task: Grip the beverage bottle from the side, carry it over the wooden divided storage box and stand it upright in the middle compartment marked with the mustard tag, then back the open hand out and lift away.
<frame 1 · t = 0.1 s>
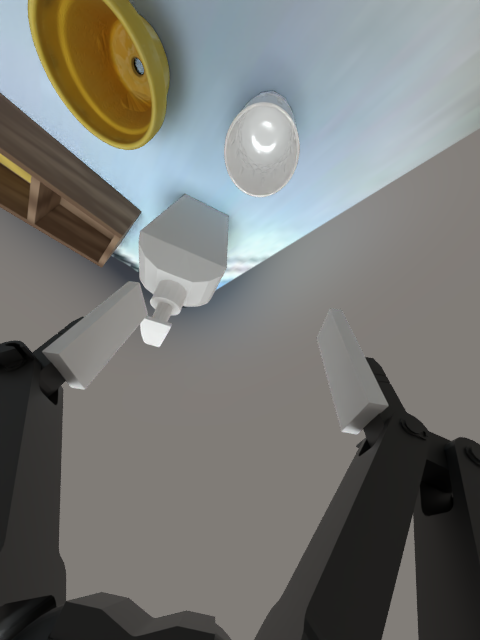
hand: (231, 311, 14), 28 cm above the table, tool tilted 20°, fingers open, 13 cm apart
wooden divided storage box: (23, 149, 32), on the table
soap bottle: (202, 223, 39), on the table
white cup: (267, 128, 26), on the table
plant pot: (142, 65, 23), on the table
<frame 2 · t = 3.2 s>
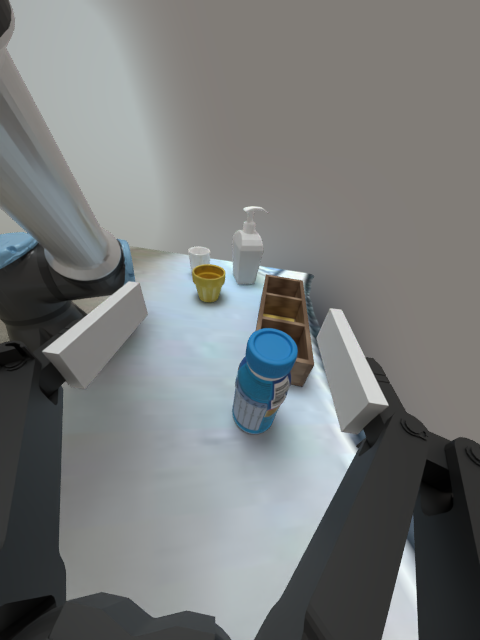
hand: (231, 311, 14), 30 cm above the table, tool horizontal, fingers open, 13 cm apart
wooden divided storage box: (277, 329, 58), on the table
soap bottle: (245, 279, 80), on the table
white cup: (200, 275, 79), on the table
plant pot: (209, 297, 68), on the table
beverage bottle: (252, 413, 39), on the table
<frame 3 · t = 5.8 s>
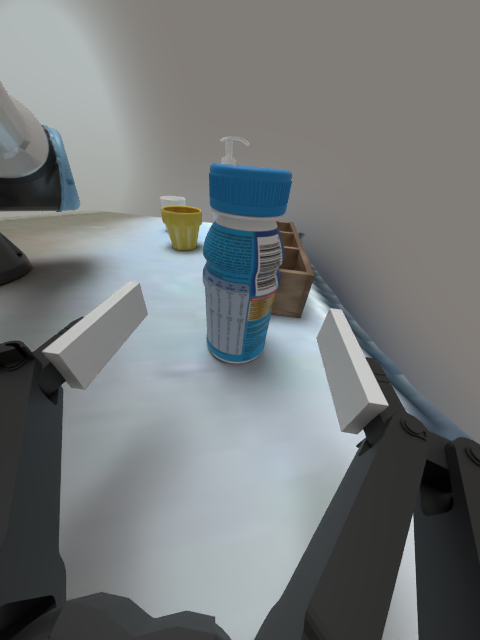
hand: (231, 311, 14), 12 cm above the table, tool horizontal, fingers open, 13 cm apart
wooden divided storage box: (266, 271, 48), on the table
soap bottle: (228, 235, 70), on the table
white cup: (176, 231, 69), on the table
plant pot: (185, 247, 57), on the table
beverage bottle: (235, 343, 28), on the table
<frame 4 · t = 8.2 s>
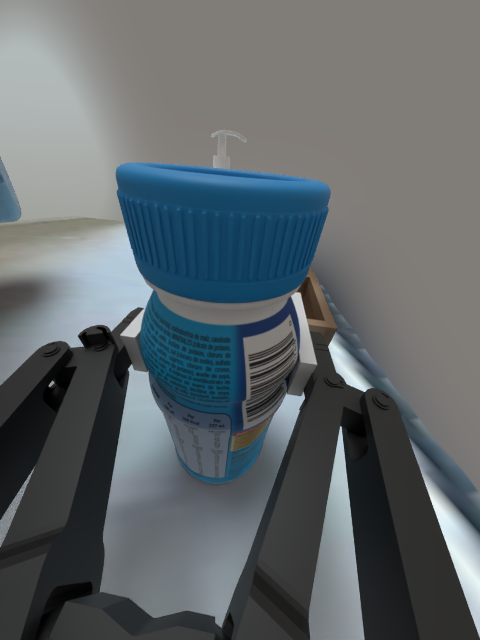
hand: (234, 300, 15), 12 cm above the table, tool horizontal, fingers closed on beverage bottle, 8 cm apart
wooden divided storage box: (266, 296, 39), on the table
soap bottle: (223, 246, 61), on the table
beverage bottle: (219, 432, 19), on the table, touching gripper
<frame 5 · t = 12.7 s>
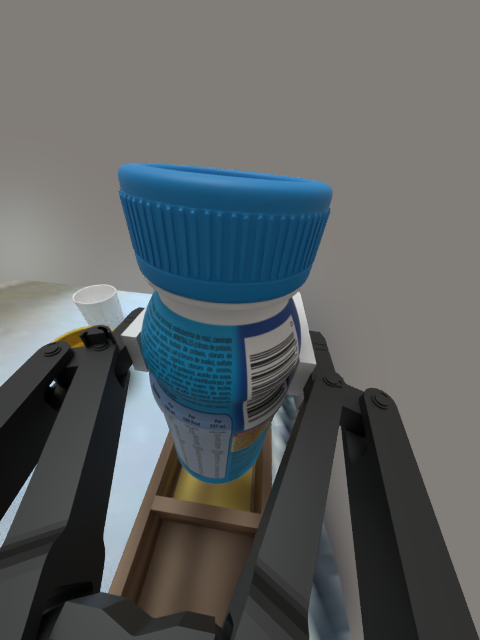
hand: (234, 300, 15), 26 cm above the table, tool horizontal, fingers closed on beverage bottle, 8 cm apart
wooden divided storage box: (218, 465, 28), on the table
white cup: (110, 328, 48), on the table
plant pot: (104, 382, 37), on the table
beverage bottle: (219, 432, 19), point 14 cm above the table, touching gripper
when the fingers open (14 cm above the table, at t = 16.8 s): beverage bottle stays where it is, resting on wooden divided storage box.
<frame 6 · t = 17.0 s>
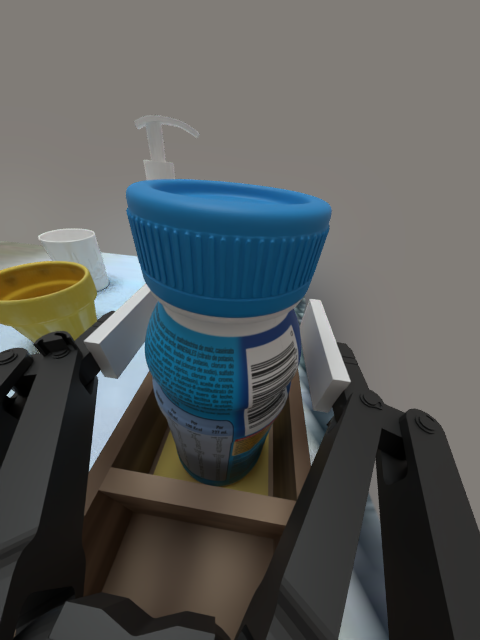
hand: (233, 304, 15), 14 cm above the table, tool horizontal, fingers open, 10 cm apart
wooden divided storage box: (219, 438, 20), on the table
soap bottle: (181, 290, 42), on the table
white cup: (90, 286, 40), on the table
plant pot: (74, 338, 29), on the table
beverage bottle: (220, 435, 19), point 1 cm above the table, touching wooden divided storage box
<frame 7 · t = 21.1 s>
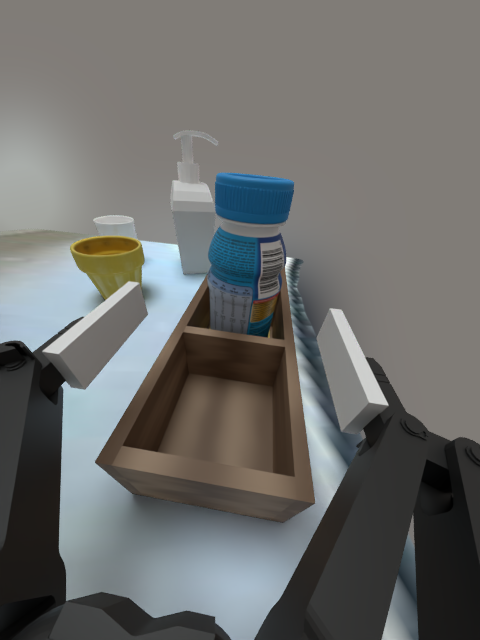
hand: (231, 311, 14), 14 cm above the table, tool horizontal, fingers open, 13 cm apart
wooden divided storage box: (236, 348, 30), on the table
soap bottle: (198, 267, 52), on the table
white cup: (126, 263, 50), on the table
plant pot: (124, 295, 39), on the table
beverage bottle: (237, 344, 29), point 1 cm above the table, touching wooden divided storage box
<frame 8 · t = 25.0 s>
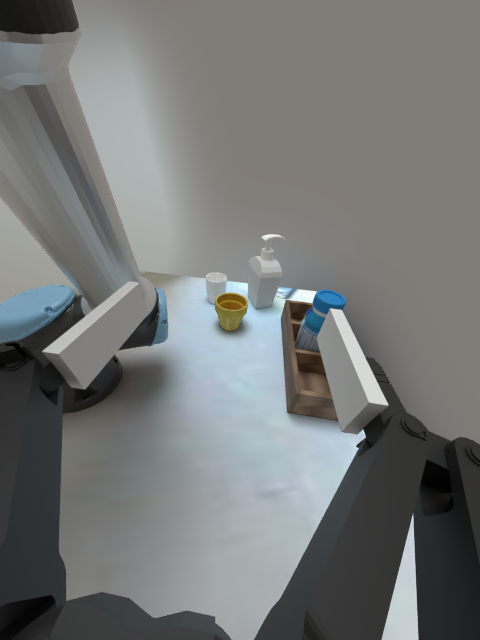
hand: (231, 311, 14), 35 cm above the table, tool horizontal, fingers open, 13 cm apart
wooden divided storage box: (304, 357, 58), on the table
soap bottle: (261, 302, 80), on the table
white cup: (216, 300, 78), on the table
plant pot: (230, 325, 67), on the table
beverage bottle: (305, 355, 57), point 1 cm above the table, touching wooden divided storage box
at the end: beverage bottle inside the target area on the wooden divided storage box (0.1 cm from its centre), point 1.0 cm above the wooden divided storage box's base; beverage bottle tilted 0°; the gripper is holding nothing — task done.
